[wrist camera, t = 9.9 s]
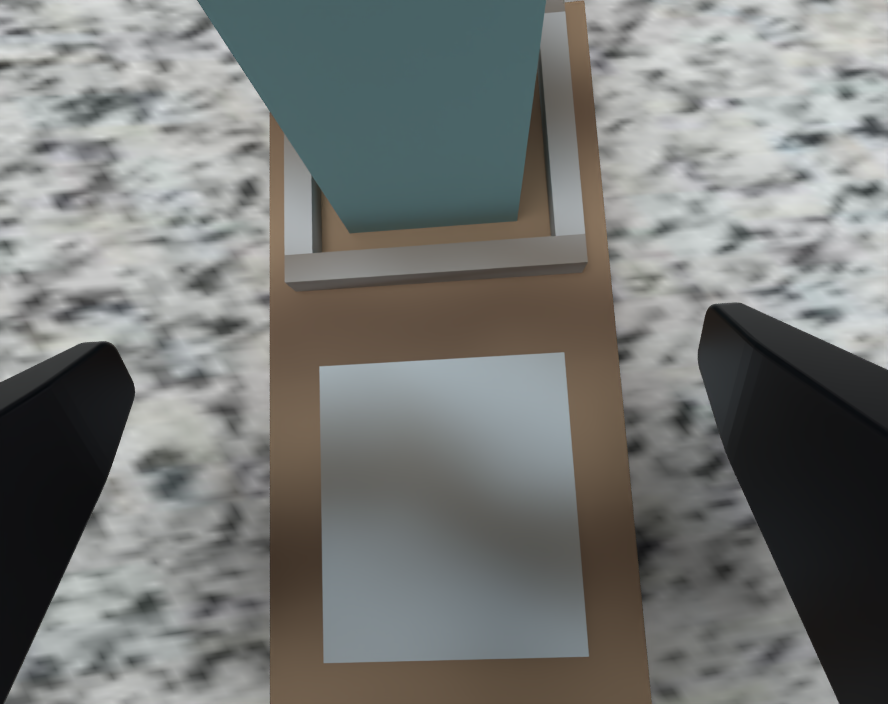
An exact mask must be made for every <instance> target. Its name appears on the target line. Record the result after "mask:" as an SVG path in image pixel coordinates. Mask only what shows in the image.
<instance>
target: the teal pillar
mask: <svg viewBox="0 0 888 704" xmlns="http://www.w3.org/2000/svg"><path fill="white" fill-rule="evenodd" d="M197 1H198V2H199V4H200V5H201V7H202V8H203V10H204V11H205V13H206V14H207V16H208V18H209V19H210V21H211V22H212V24H213V25H214V27H215V28H216V30H217V31H218V33H219V34H220V36H221V37H222V39H223V40H224V42H225V44H226V45H227V47H228V48H229V50H230V51H231V53H232V54H233V56H234V57H235V59H236V60H237V62H238V63H239V65H240V66H241V68H242V70H243V71H244V73H245V74H246V76H247V77H248V79H249V80H250V82H251V83H252V85H253V86H254V88H255V89H256V91H257V92H258V94H259V96H260V97H261V99H262V100H263V102H264V103H265V105H266V106H267V108H268V109H269V111H270V112H271V114H272V115H273V117H274V118H275V120H276V121H277V123H278V125H279V126H280V128H281V129H282V131H283V132H284V134H285V135H286V137H287V138H288V140H289V141H290V143H291V144H292V146H293V147H294V149H295V151H296V152H297V154H298V155H299V157H300V158H301V160H302V161H303V163H304V164H305V166H306V167H307V169H308V170H309V172H310V173H311V175H312V177H313V178H314V180H315V181H316V183H317V184H318V186H319V187H320V189H321V190H322V192H323V193H324V195H325V196H326V198H327V199H328V201H329V203H330V204H331V206H332V207H333V209H334V210H335V212H336V213H337V215H338V216H339V218H340V219H341V221H342V222H343V224H344V225H345V227H346V229H347V230H348V232H349V233H362V232H376V231H389V230H403V229H416V228H430V227H444V226H457V225H471V224H484V223H498V222H512V221H517V218H518V210H519V203H520V195H521V188H522V180H523V172H524V165H525V157H526V150H527V142H528V134H529V127H530V119H531V112H532V104H533V96H534V89H535V81H536V74H537V66H538V58H539V51H540V43H541V36H542V28H543V20H544V13H545V5H546V0H197Z"/></svg>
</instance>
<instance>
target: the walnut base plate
mask: <svg viewBox="0 0 888 704" xmlns="http://www.w3.org/2000/svg"><path fill="white" fill-rule="evenodd" d="M270 704H652V701H651V691H650V681H649V670H648V660H647V649H646V639H645V628H644V618H643V608H642V597H641V587H640V576H639V566H638V556H637V545H636V535H635V524H634V514H633V503H632V493H631V483H630V472H629V462H628V451H627V441H626V431H625V420H624V410H623V399H622V389H621V378H620V368H619V358H618V347H617V337H616V326H615V316H614V305H613V295H612V285H611V274H610V264H609V253H608V243H607V233H606V222H605V212H604V201H603V191H602V180H601V170H600V160H599V149H598V139H597V128H596V118H595V108H594V97H593V87H592V76H591V66H590V55H589V45H588V35H587V24H586V14H585V3H584V1H575V2H565V3H564V0H546V5H545V13H544V20H543V28H542V36H541V43H540V51H539V58H538V66H537V74H536V81H535V89H534V96H533V104H532V112H531V119H530V127H529V134H528V142H527V150H526V157H525V165H524V172H523V180H522V188H521V195H520V203H519V210H518V218H517V221H512V222H498V223H484V224H471V225H457V226H444V227H430V228H416V229H403V230H389V231H376V232H362V233H349V232H348V230H347V229H346V227H345V225H344V224H343V222H342V221H341V219H340V218H339V216H338V215H337V213H336V212H335V210H334V209H333V207H332V206H331V204H330V203H329V201H328V199H327V198H326V196H325V195H324V193H323V192H322V190H321V189H320V187H319V186H318V184H317V183H316V181H315V180H314V178H313V177H312V175H311V173H310V172H309V170H308V169H307V167H306V166H305V164H304V163H303V161H302V160H301V158H300V157H299V155H298V154H297V152H296V151H295V149H294V147H293V146H292V144H291V143H290V141H289V140H288V138H287V137H286V135H285V134H284V132H283V131H282V129H281V128H280V126H279V125H278V123H277V121H276V120H275V118H274V117H273V115H272V114H271V112H270Z"/></svg>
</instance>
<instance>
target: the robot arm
mask: <svg viewBox="0 0 888 704" xmlns="http://www.w3.org/2000/svg"><path fill="white" fill-rule="evenodd" d="M698 365H699V369H700V372H701V375H702V379H703V382H704V385H705V388H706V392H707V395H708V398H709V401H710V405H711V408H712V411H713V414H714V418H715V421H716V424H717V427H718V431H719V434H720V437H721V440H722V443H723V446H724V449H725V452H726V454H727V457H728V459H729V461H730V464H731V466H732V468H733V470H734V473H735V475H736V477H737V479H738V482H739V484H740V486H741V488H742V490H743V493H744V495H745V497H746V499H747V501H748V504H749V506H750V508H751V510H752V512H753V515H754V517H755V519H756V521H757V523H758V526H759V528H760V530H761V532H762V534H763V537H764V539H765V541H766V543H767V545H768V548H769V550H770V552H771V554H772V556H773V559H774V561H775V563H776V565H777V567H778V570H779V572H780V574H781V576H782V578H783V581H784V583H785V585H786V587H787V589H788V592H789V594H790V596H791V598H792V601H793V603H794V605H795V607H796V609H797V612H798V614H799V616H800V618H801V620H802V623H803V625H804V627H805V629H806V631H807V634H808V636H809V638H810V640H811V642H812V645H813V647H814V649H815V651H816V653H817V656H818V658H819V660H820V662H821V664H822V667H823V669H824V671H825V673H826V675H827V678H828V680H829V682H830V684H831V686H832V689H833V691H834V693H835V695H836V697H837V700H838V702H839V704H888V370H887V369H885V368H883V367H880V366H878V365H876V364H874V363H872V362H869V361H867V360H865V359H863V358H861V357H858V356H856V355H854V354H852V353H850V352H847V351H845V350H843V349H841V348H839V347H836V346H834V345H832V344H830V343H828V342H825V341H823V340H821V339H819V338H817V337H815V336H812V335H810V334H808V333H806V332H804V331H801V330H799V329H797V328H795V327H793V326H790V325H788V324H786V323H784V322H782V321H779V320H777V319H775V318H773V317H771V316H768V315H766V314H764V313H762V312H760V311H757V310H755V309H753V308H751V307H749V306H746V305H744V304H742V303H721V304H713V305H711V306H710V307H709V308H708V310H707V312H706V315H705V319H704V324H703V329H702V334H701V339H700V344H699V349H698ZM134 397H135V387H134V383H133V380H132V378H131V376H130V374H129V372H128V370H127V368H126V366H125V364H124V362H123V360H122V358H121V356H120V354H119V352H118V350H117V349H116V347H115V346H114V345H113V344H111V343H109V342H106V341H101V342H85V343H81V344H78V345H76V346H74V347H72V348H70V349H68V350H66V351H64V352H62V353H60V354H58V355H56V356H54V357H52V358H49V359H47V360H45V361H43V362H41V363H39V364H37V365H35V366H33V367H31V368H29V369H27V370H25V371H23V372H21V373H19V374H17V375H15V376H13V377H11V378H9V379H6V380H4V381H2V382H0V704H4V703H5V700H6V698H7V696H8V694H9V692H10V690H11V687H12V685H13V683H14V681H15V679H16V677H17V674H18V672H19V670H20V668H21V666H22V664H23V661H24V659H25V657H26V655H27V653H28V650H29V648H30V646H31V644H32V642H33V640H34V637H35V635H36V633H37V631H38V629H39V627H40V624H41V622H42V620H43V618H44V616H45V614H46V611H47V609H48V607H49V605H50V603H51V601H52V598H53V596H54V594H55V592H56V590H57V588H58V585H59V583H60V581H61V579H62V577H63V575H64V572H65V570H66V568H67V566H68V564H69V562H70V559H71V557H72V555H73V553H74V551H75V549H76V546H77V544H78V542H79V540H80V538H81V536H82V533H83V531H84V529H85V527H86V525H87V522H88V520H89V518H90V516H91V514H92V512H93V509H94V507H95V505H96V503H97V501H98V499H99V496H100V494H101V492H102V490H103V487H104V485H105V483H106V480H107V478H108V475H109V472H110V469H111V467H112V464H113V461H114V458H115V455H116V452H117V449H118V446H119V443H120V440H121V437H122V434H123V431H124V428H125V425H126V422H127V419H128V416H129V413H130V410H131V407H132V404H133V401H134Z"/></svg>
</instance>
